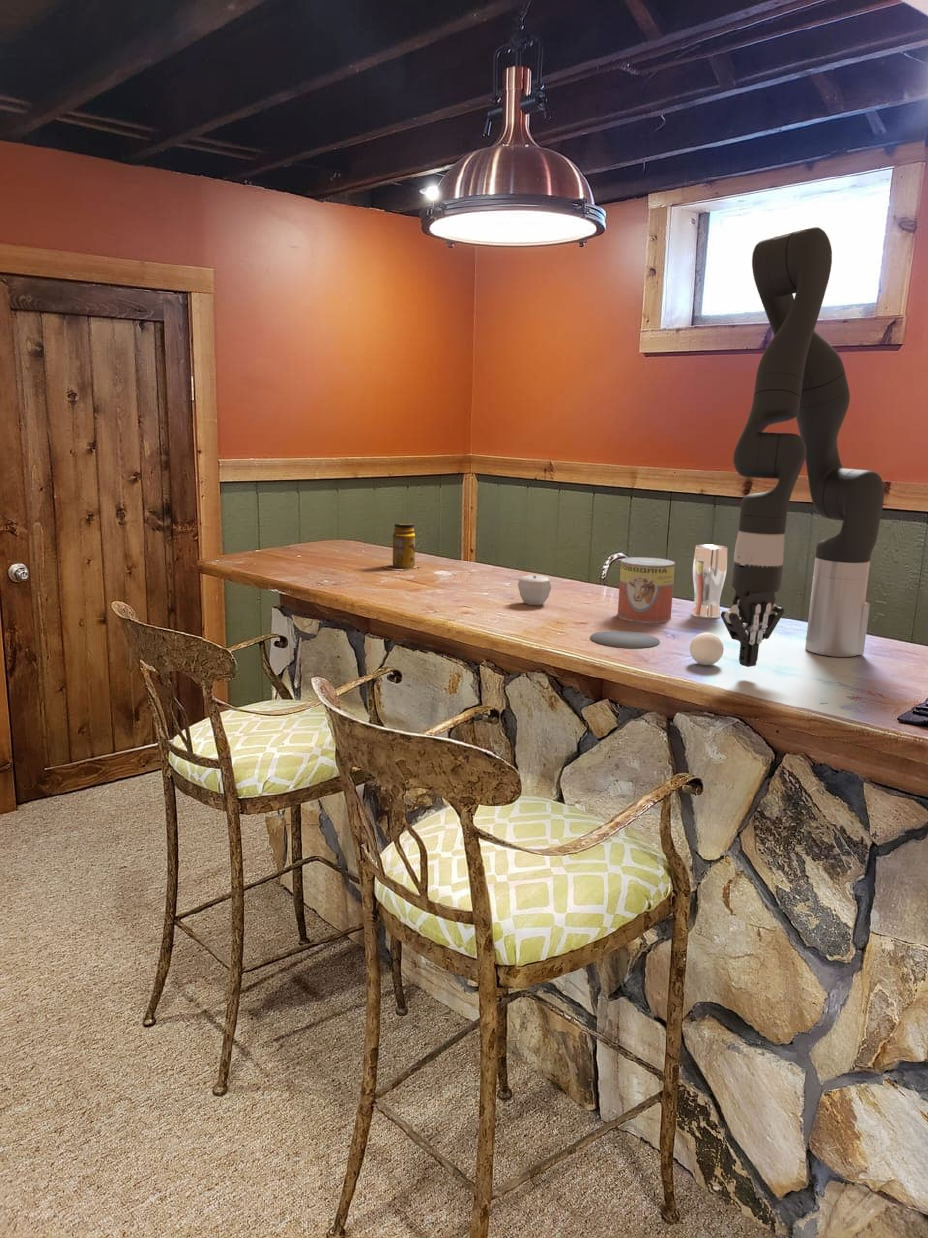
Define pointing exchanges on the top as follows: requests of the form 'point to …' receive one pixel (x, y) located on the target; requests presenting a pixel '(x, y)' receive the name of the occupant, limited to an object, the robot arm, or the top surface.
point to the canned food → (646, 589)
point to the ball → (706, 648)
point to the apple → (534, 589)
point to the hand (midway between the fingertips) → (747, 665)
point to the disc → (624, 639)
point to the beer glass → (708, 579)
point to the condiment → (403, 547)
